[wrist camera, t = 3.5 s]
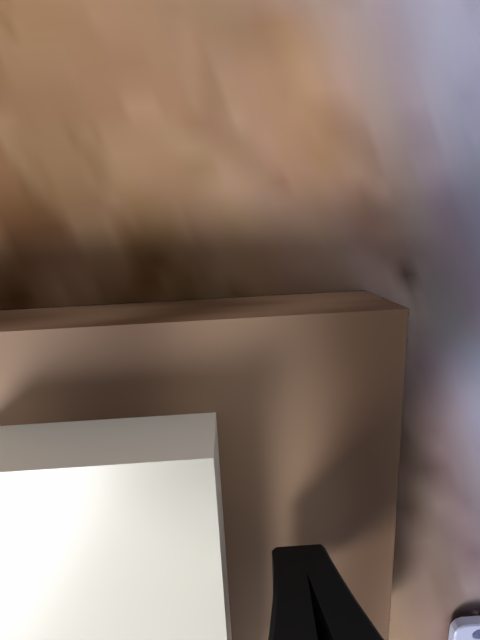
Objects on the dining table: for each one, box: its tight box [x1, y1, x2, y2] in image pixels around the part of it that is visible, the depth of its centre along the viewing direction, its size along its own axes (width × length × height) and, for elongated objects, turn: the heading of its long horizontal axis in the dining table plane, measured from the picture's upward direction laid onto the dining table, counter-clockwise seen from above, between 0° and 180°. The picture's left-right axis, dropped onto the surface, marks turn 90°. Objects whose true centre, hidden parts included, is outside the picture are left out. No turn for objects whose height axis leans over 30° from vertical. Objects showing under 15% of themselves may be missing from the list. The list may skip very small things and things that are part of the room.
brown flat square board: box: [0, 291, 409, 640], centre depth 12 cm, size 14×14×3 cm
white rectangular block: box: [0, 412, 232, 640], centre depth 10 cm, size 6×9×2 cm, turn 3°
